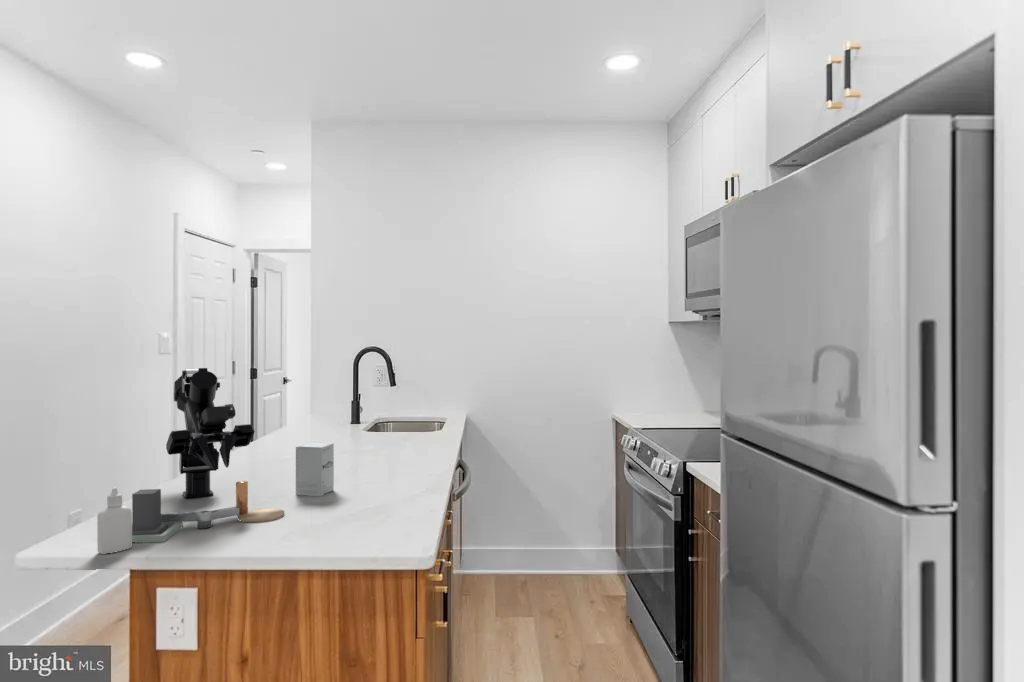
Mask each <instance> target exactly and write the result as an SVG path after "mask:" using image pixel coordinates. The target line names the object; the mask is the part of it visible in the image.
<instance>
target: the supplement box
mask: <svg viewBox="0 0 1024 682" xmlns="http://www.w3.org/2000/svg"><path fill="white" fill-rule="evenodd" d="M334 444H335V443H332V442H307V443H305V444H301V445H299V446H298V445H297V446H295V496H303V495H309V496H308V497H322V496H324V495H326V494H328V493H329V492H332V490H333V491H334V490H335V489H334V486H335V485H334V479H335V477H334V474H335V473H334V470H335V468H334V467H335V466H334V465H335V464H334V463H335V462H334V458H335V457H334V456H335V453H334V451H335V450H334V448H335V447H334V446H335V445H334ZM325 493H326V494H325Z"/></svg>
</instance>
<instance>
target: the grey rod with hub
mask: <svg viewBox="0 0 1024 682" xmlns="http://www.w3.org/2000/svg"><path fill="white" fill-rule="evenodd" d="M248 483H249V482H248V481H247V480H241V481H237V482H235V506H230V507H225V508H220V509H214V510H202V511H179V512H178V511H175V512H174V511H173V512H172V511H171V512H162V511H161V522H183V523H185V522H194V523H195V522H196V528H198V529H207V528H210V527H212V525H213V524H212V521H213V520H219V519H220V520H221V519H224V518H231V517H237V515H245V514H247V513H248V510H249V508H248V507H249V506H248V505H249V504H248V503H249V496H248V494H249V493H248V490H249V489H248V486H249V485H248Z"/></svg>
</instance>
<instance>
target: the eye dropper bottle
mask: <svg viewBox="0 0 1024 682" xmlns="http://www.w3.org/2000/svg"><path fill="white" fill-rule="evenodd" d="M106 506H107V507H106V508H104V509H101V510H100V511H99V512H98V514H97V523H96V525H97V527H96V528H97V531H96V532H97V533H96V534H97V541H96V542H97V553H99V554H101V555H107V554H106V553H111V552H115V551H121V550H124V551H126V550H125V549H127V550H129V548H130V549H131V548H132V547H133V543H132V508H130V507H129V506H126V505H123V494H122V493H119V491H118V488H117V487H112V489H111V493H110V494H108V495H107V501H106ZM121 552H122V551H121ZM111 554H112V553H111Z"/></svg>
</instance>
